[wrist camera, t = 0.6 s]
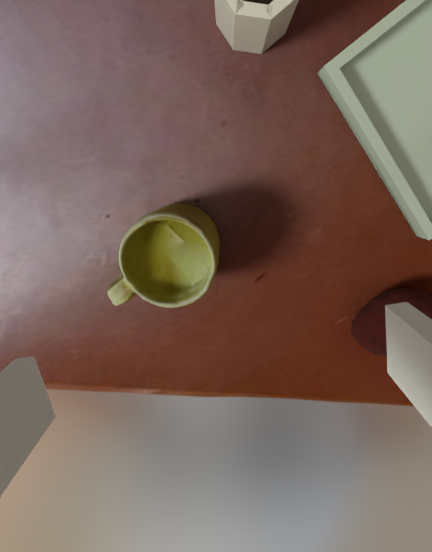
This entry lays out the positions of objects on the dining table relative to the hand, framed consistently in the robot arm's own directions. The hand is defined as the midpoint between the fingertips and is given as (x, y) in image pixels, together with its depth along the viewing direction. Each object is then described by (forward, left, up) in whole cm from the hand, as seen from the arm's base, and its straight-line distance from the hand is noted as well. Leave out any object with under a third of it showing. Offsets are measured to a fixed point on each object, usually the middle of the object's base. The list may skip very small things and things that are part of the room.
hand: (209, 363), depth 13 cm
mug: (-2, -6, -28) cm, 28 cm away
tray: (+3, +24, -27) cm, 36 cm away
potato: (+19, +10, -28) cm, 35 cm away
